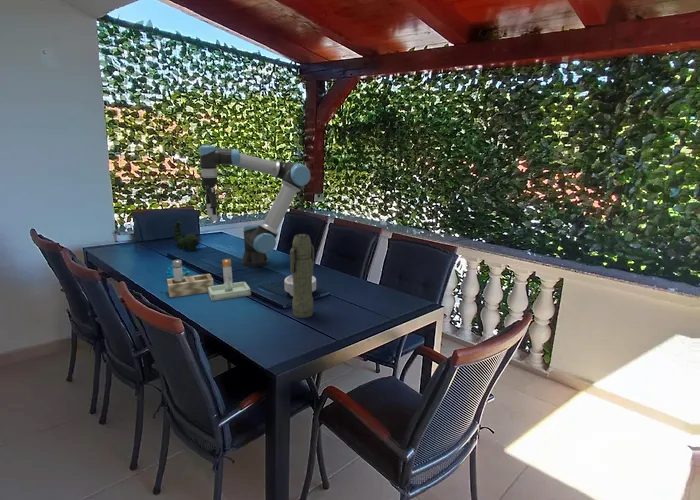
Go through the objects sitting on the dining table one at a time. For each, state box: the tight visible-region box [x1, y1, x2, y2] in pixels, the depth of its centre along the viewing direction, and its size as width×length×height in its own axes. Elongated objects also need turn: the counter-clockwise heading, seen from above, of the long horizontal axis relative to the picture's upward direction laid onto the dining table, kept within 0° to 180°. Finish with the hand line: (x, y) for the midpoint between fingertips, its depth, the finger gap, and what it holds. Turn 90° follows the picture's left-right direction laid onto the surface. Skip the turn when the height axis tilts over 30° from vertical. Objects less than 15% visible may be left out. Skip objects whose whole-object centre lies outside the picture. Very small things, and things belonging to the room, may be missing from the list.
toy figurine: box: [172, 220, 200, 252], centre depth 274 cm, size 9×19×25 cm
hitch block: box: [166, 273, 215, 298], centre depth 204 cm, size 20×10×6 cm, turn 117°
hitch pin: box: [221, 258, 234, 292], centre depth 200 cm, size 4×4×16 cm
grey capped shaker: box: [172, 259, 184, 283], centre depth 201 cm, size 4×4×16 cm
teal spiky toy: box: [165, 264, 190, 279], centre depth 221 cm, size 11×6×10 cm
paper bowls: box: [283, 274, 317, 297], centre depth 202 cm, size 15×15×8 cm
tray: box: [207, 281, 252, 302], centre depth 202 cm, size 18×12×3 cm, turn 117°
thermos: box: [289, 233, 315, 319], centre depth 177 cm, size 9×12×35 cm
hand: (212, 218), depth 218 cm, fingers open, 13 cm apart
